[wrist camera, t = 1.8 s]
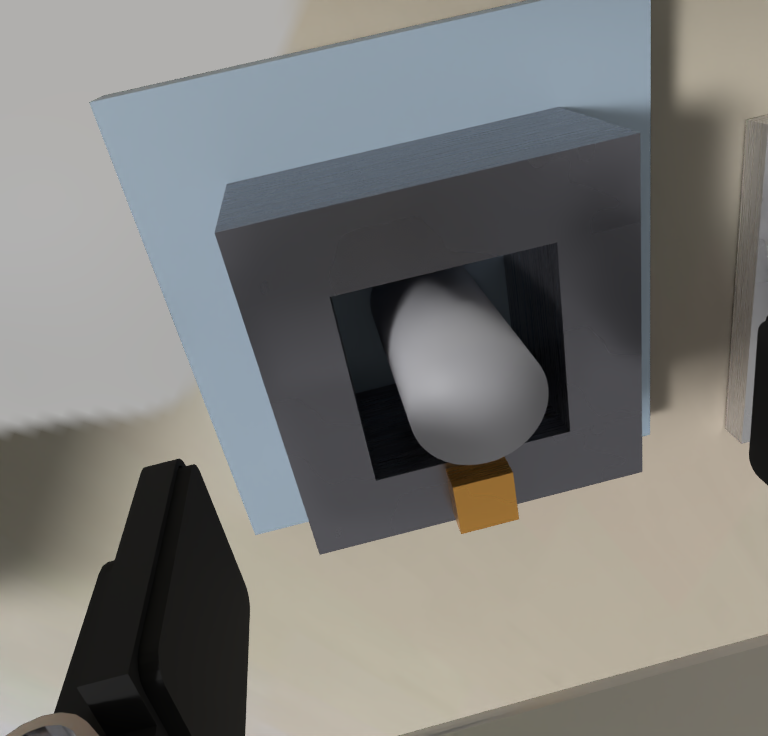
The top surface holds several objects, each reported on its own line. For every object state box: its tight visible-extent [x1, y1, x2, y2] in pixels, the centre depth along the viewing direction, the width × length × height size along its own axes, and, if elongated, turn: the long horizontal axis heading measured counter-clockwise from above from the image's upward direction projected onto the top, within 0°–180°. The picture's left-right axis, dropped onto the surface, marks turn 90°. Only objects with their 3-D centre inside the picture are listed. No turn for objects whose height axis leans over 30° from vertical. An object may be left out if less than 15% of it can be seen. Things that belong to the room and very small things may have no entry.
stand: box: [89, 0, 651, 535], centre depth 14 cm, size 11×11×6 cm
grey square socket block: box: [215, 107, 642, 554], centre depth 14 cm, size 7×7×4 cm
